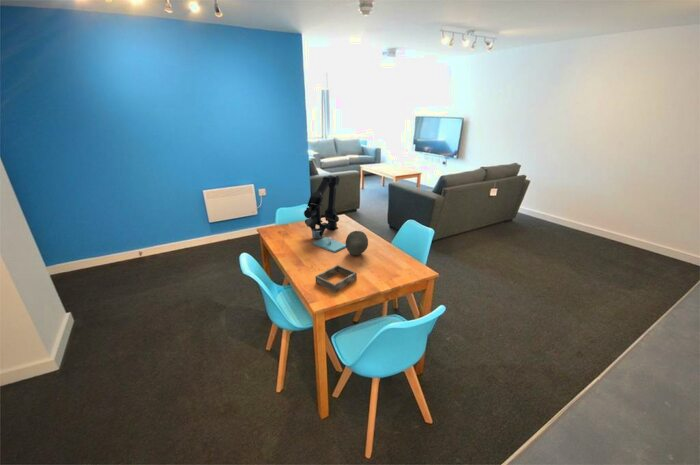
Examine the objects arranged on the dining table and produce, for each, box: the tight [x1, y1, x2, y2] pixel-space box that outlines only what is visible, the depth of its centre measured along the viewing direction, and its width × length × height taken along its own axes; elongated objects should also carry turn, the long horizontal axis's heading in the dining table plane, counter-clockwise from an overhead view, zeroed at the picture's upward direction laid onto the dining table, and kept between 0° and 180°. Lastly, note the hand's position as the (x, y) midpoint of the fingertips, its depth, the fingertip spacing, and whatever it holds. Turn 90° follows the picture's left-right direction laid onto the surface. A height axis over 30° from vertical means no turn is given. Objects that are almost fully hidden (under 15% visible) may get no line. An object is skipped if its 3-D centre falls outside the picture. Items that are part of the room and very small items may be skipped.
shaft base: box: [312, 236, 347, 253], centre depth 196 cm, size 12×20×5 cm, turn 49°
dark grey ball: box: [345, 230, 369, 256], centre depth 181 cm, size 14×14×15 cm
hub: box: [311, 227, 324, 240], centre depth 207 cm, size 7×7×5 cm
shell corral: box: [315, 264, 358, 293], centre depth 154 cm, size 16×14×4 cm
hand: (317, 235), depth 207 cm, fingers closed on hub, 7 cm apart
